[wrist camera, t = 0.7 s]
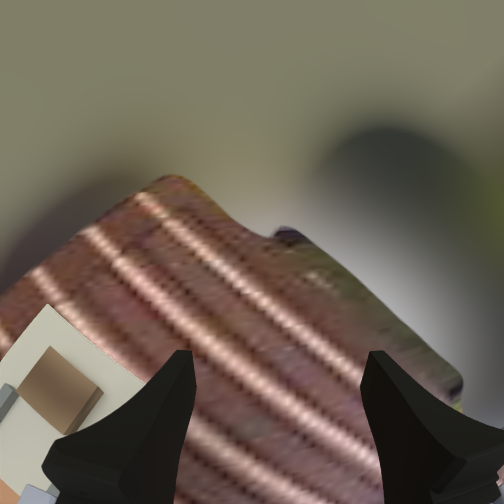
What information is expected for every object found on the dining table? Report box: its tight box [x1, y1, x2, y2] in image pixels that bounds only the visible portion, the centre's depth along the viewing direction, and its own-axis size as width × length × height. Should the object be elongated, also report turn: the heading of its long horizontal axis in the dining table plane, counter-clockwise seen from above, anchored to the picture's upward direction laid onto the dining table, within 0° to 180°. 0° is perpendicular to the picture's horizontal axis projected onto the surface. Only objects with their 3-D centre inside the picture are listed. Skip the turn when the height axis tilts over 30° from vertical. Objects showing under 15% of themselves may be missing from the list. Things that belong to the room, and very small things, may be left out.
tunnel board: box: [0, 304, 146, 504], centre depth 15 cm, size 33×14×4 cm, turn 152°
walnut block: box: [16, 346, 104, 435], centre depth 21 cm, size 5×5×4 cm
